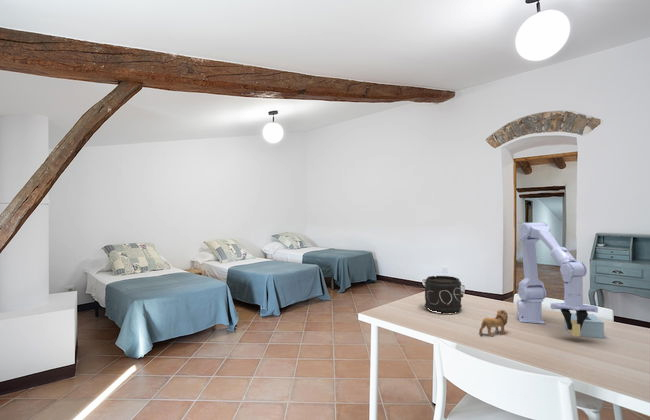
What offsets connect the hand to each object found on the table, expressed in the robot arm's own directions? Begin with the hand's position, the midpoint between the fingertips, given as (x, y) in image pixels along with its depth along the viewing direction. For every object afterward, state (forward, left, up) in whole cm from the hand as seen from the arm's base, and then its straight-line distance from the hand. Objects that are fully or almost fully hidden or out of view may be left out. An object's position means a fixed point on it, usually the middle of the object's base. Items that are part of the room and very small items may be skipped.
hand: (574, 329), depth 130 cm
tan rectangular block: (0, 0, -2) cm, 2 cm away
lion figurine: (-28, -2, -4) cm, 28 cm away
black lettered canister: (-47, +27, -4) cm, 55 cm away
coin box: (+6, +11, -4) cm, 13 cm away
